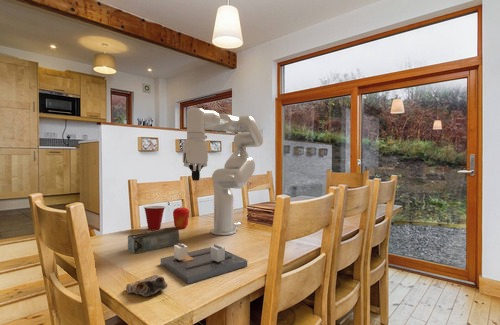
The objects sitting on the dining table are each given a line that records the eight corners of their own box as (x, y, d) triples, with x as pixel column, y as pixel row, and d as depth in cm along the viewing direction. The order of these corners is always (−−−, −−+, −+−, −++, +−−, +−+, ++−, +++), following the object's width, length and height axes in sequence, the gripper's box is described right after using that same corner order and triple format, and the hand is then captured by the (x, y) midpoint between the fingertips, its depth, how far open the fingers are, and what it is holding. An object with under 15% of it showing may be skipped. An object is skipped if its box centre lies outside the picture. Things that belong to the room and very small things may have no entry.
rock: (171, 289, 78) (148, 274, 83) (170, 272, 76) (147, 258, 81) (145, 310, 71) (121, 293, 76) (143, 292, 69) (119, 275, 74)
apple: (191, 228, 146) (191, 206, 146) (175, 230, 142) (175, 207, 142) (186, 225, 154) (186, 203, 154) (171, 226, 150) (171, 204, 150)
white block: (218, 256, 96) (218, 243, 96) (224, 259, 93) (224, 246, 93) (210, 258, 94) (210, 245, 94) (217, 261, 91) (217, 248, 91)
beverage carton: (126, 249, 111) (126, 233, 111) (171, 241, 124) (171, 226, 124) (133, 255, 106) (133, 237, 106) (180, 245, 118) (180, 229, 118)
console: (215, 251, 110) (215, 245, 110) (247, 266, 94) (247, 259, 94) (160, 264, 96) (160, 257, 96) (188, 284, 80) (188, 276, 80)
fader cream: (182, 255, 97) (182, 242, 97) (187, 258, 94) (187, 245, 94) (174, 257, 96) (174, 243, 95) (179, 260, 92) (179, 246, 92)
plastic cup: (169, 227, 149) (169, 204, 149) (158, 232, 139) (159, 207, 139) (150, 226, 151) (150, 203, 151) (138, 230, 141) (139, 207, 140)
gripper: (206, 138, 127) (206, 179, 127) (175, 137, 118) (175, 180, 118) (215, 138, 121) (215, 180, 122) (183, 135, 112) (183, 181, 112)
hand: (195, 180), depth 120 cm, fingers closed
